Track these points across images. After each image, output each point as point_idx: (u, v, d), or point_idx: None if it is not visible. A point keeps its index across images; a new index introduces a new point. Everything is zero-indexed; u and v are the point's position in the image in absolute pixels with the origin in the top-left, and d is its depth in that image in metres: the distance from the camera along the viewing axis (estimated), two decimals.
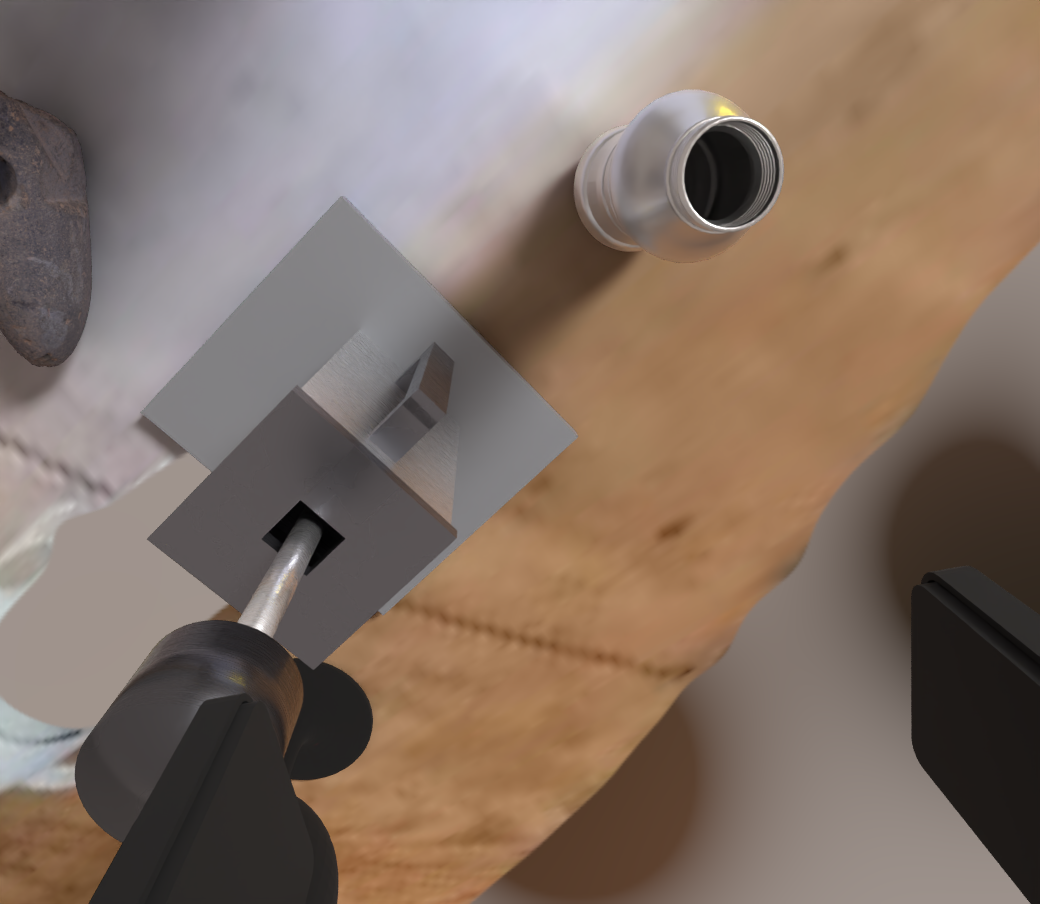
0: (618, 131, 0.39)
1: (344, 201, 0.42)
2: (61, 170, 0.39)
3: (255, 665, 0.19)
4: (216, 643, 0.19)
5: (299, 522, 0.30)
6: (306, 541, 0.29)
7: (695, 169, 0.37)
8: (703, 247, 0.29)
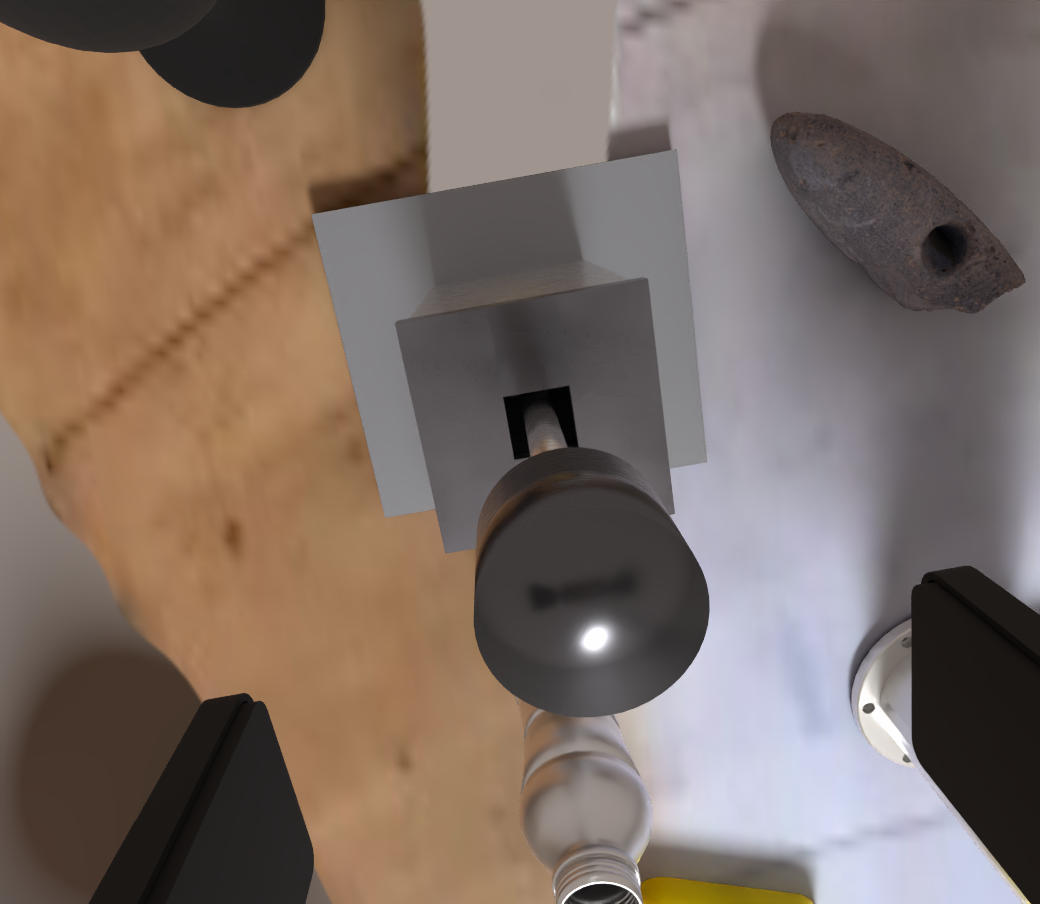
0: None
1: (701, 461, 0.45)
2: (894, 281, 0.40)
3: None
4: None
5: None
6: None
7: None
8: (541, 824, 0.34)
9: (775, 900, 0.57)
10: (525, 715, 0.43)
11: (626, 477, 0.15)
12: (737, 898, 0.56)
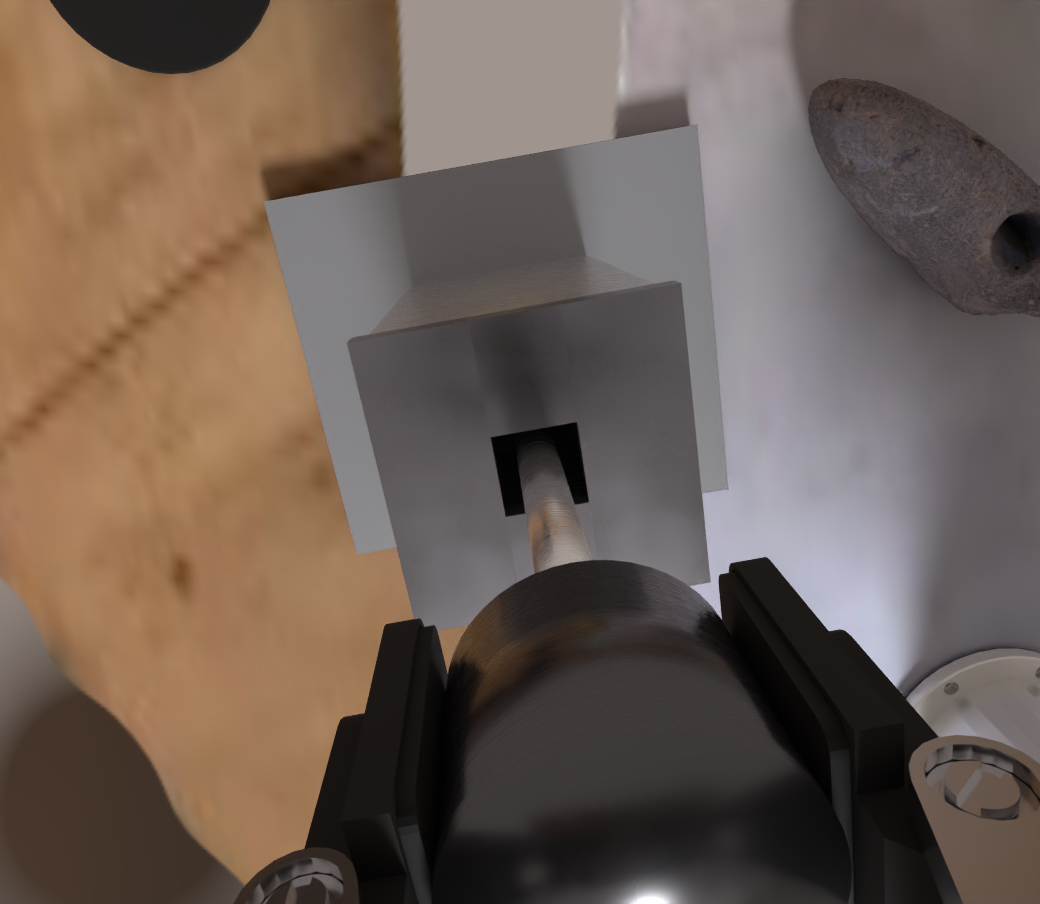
0: None
1: (722, 488, 0.39)
2: (952, 281, 0.34)
3: None
4: None
5: None
6: None
7: None
8: None
9: None
10: None
11: (690, 626, 0.09)
12: None
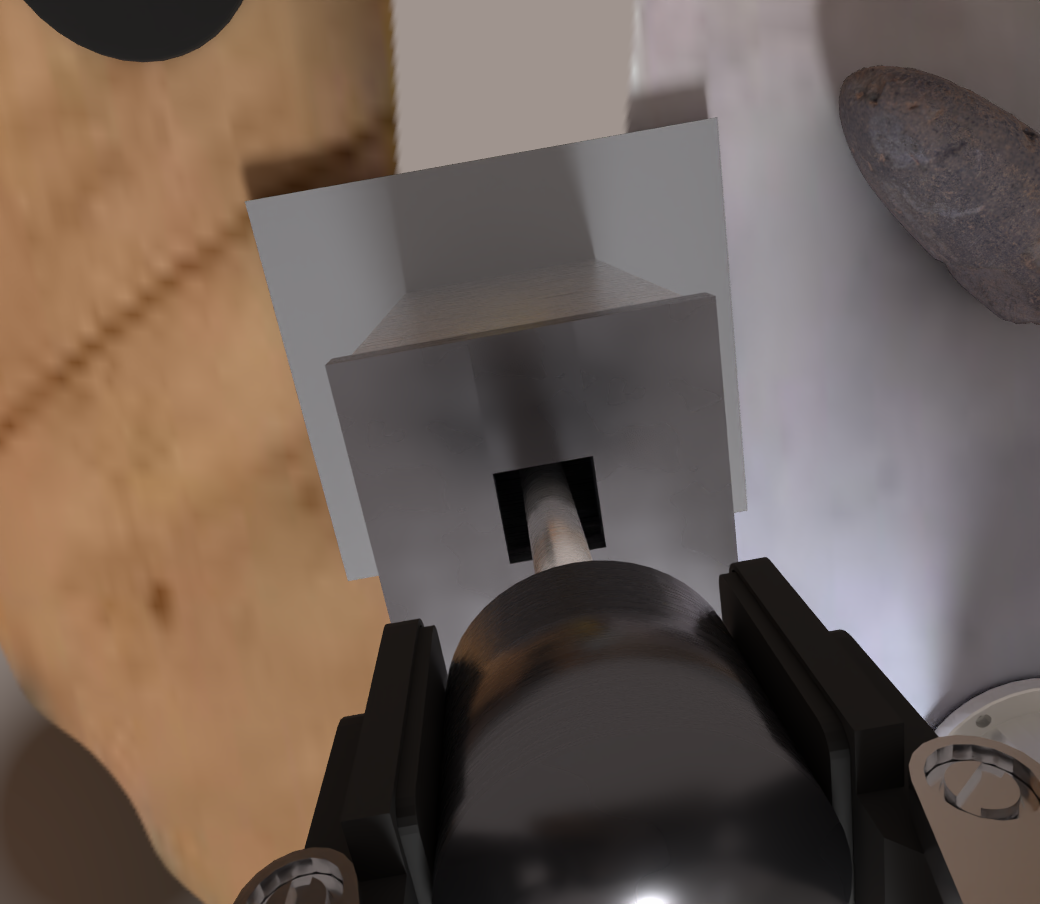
0: None
1: (740, 510, 0.37)
2: (995, 287, 0.32)
3: None
4: None
5: None
6: None
7: None
8: None
9: None
10: None
11: (691, 626, 0.09)
12: None
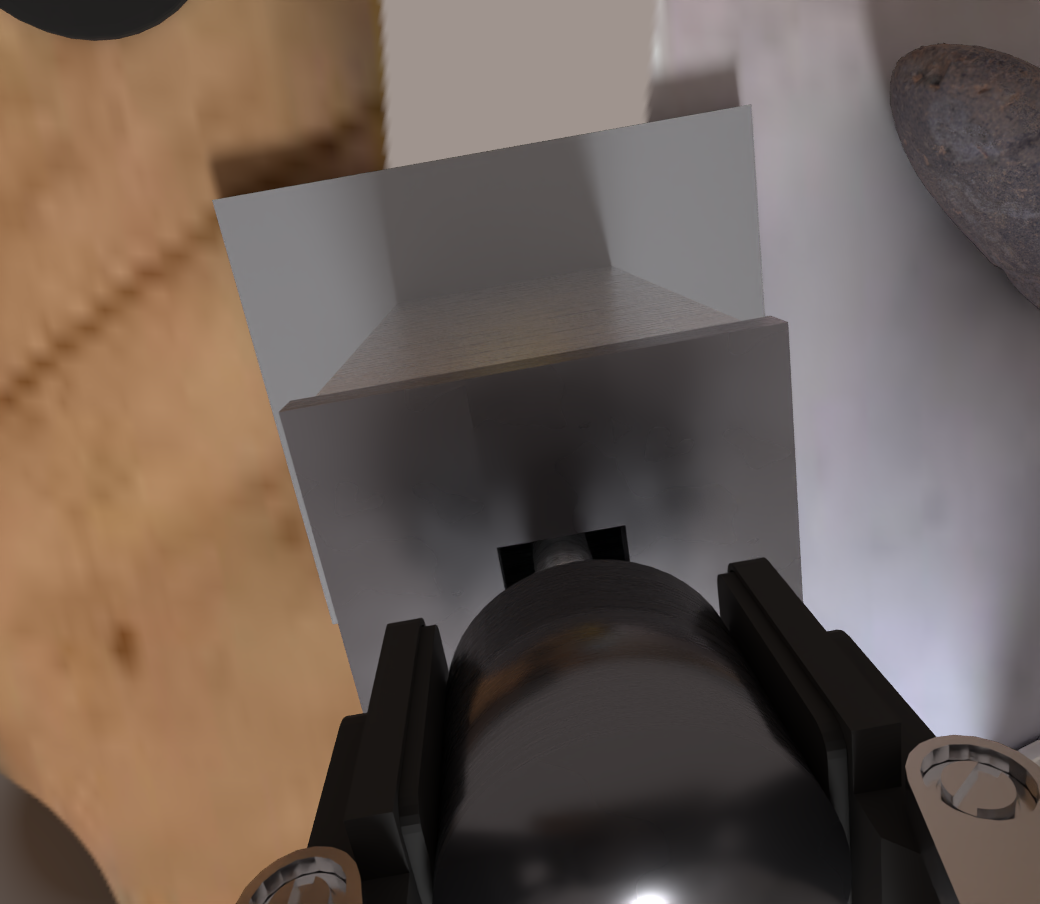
0: None
1: None
2: None
3: None
4: None
5: None
6: None
7: None
8: None
9: None
10: None
11: (691, 625, 0.09)
12: None
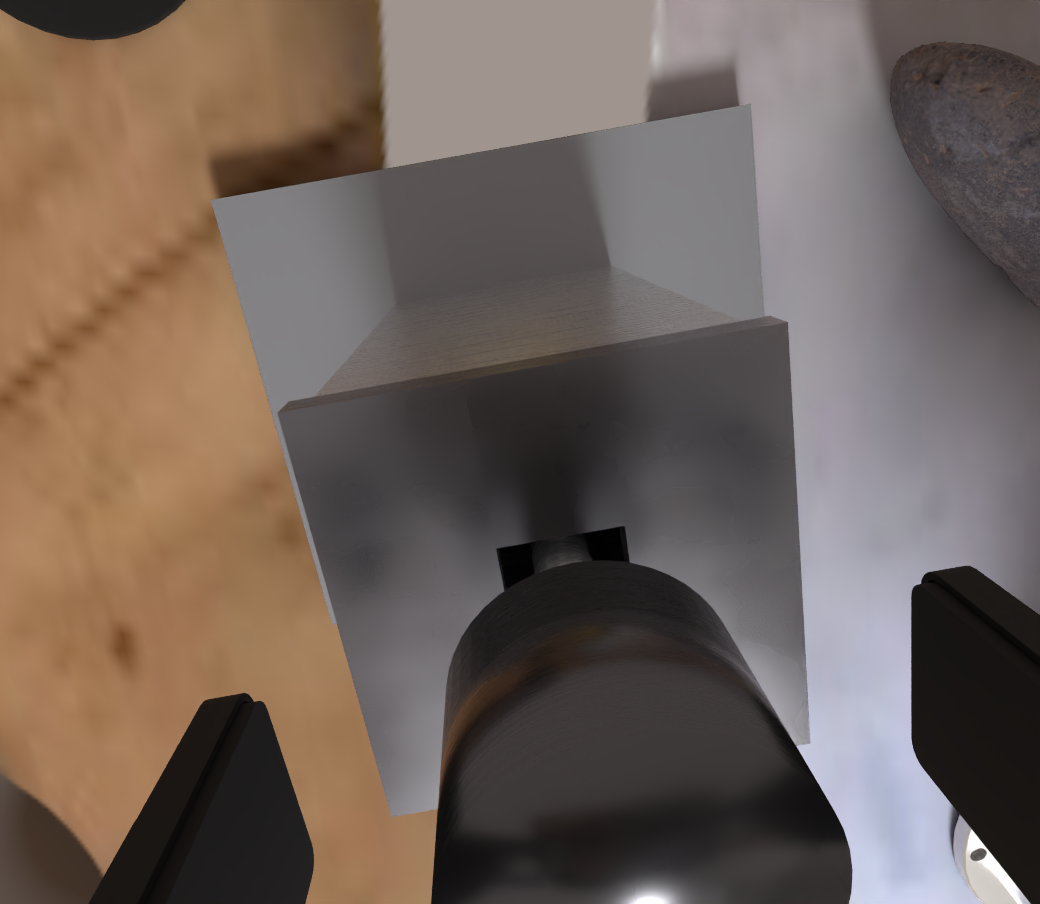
0: None
1: None
2: None
3: None
4: None
5: None
6: None
7: None
8: None
9: None
10: None
11: (690, 626, 0.09)
12: None
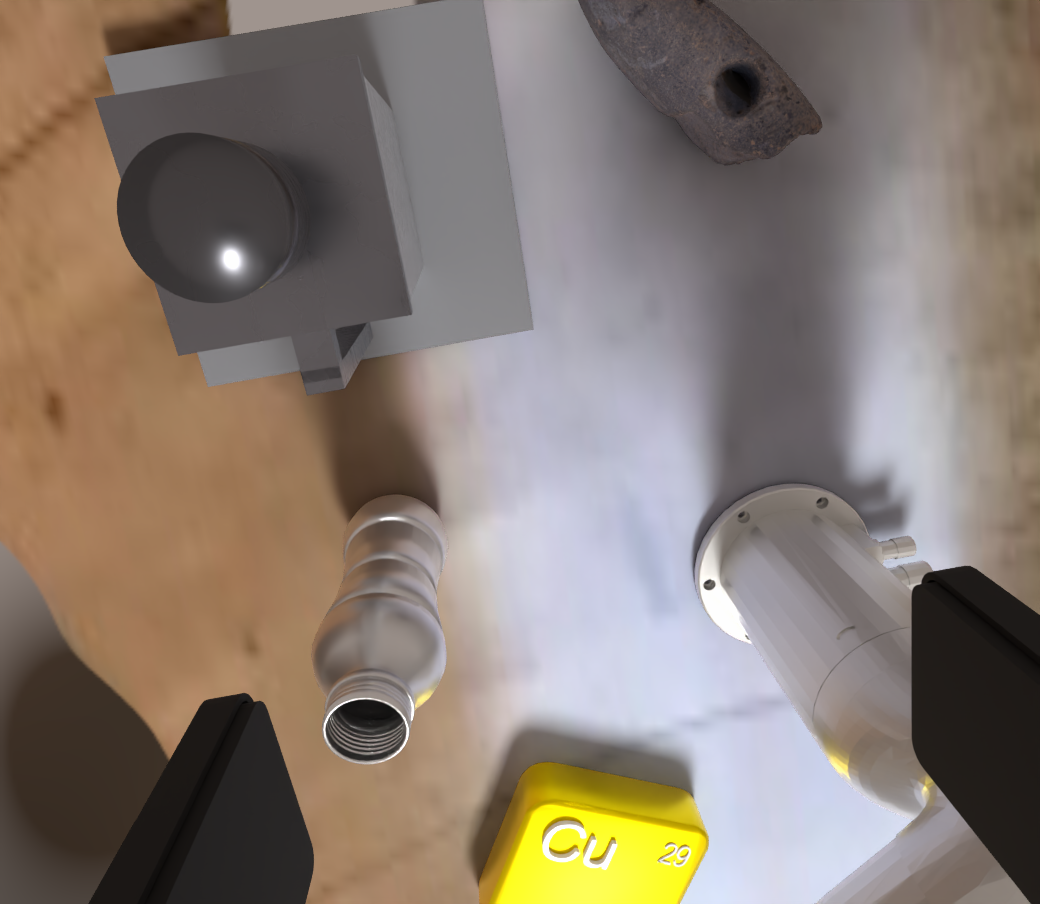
0: (442, 567, 0.46)
1: (528, 329, 0.45)
2: (702, 133, 0.40)
3: None
4: (286, 270, 0.23)
5: None
6: None
7: None
8: (324, 658, 0.34)
9: (657, 791, 0.59)
10: (343, 576, 0.42)
11: (251, 146, 0.21)
12: (621, 786, 0.58)
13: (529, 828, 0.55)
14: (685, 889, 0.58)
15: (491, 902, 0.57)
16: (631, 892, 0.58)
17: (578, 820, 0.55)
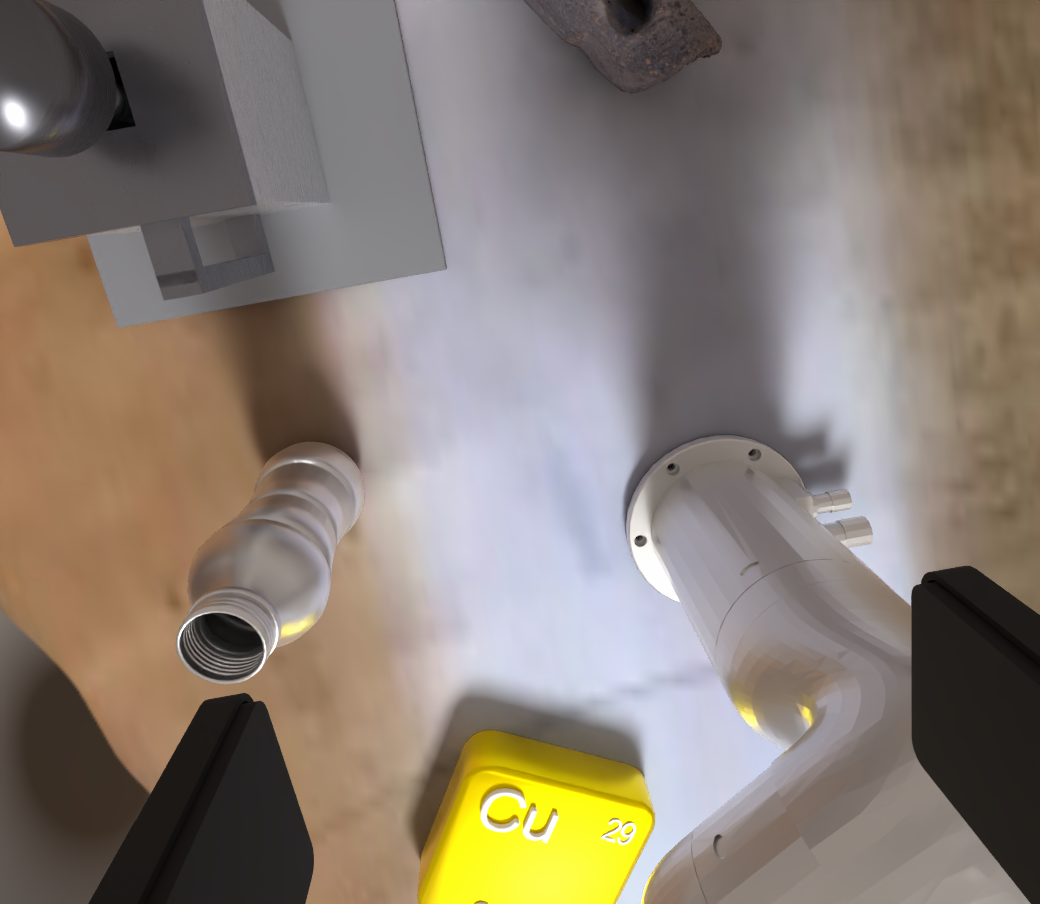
0: (354, 513, 0.45)
1: (440, 269, 0.45)
2: (605, 59, 0.40)
3: (50, 151, 0.22)
4: (85, 132, 0.22)
5: None
6: None
7: None
8: (194, 580, 0.34)
9: (604, 766, 0.57)
10: None
11: None
12: (567, 758, 0.56)
13: (467, 794, 0.53)
14: (630, 869, 0.56)
15: (428, 873, 0.56)
16: (574, 869, 0.56)
17: (518, 789, 0.53)
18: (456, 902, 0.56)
